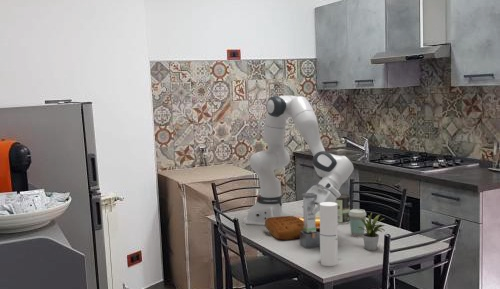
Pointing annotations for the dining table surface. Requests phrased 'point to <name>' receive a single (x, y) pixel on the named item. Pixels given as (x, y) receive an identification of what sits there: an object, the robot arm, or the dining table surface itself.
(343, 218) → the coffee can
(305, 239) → the stand base
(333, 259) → the cylindrical container
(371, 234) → the house plant
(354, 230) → the coffee cup
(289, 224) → the cuneiform tablet
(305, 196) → the column
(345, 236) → the dining table surface
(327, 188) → the robot arm
